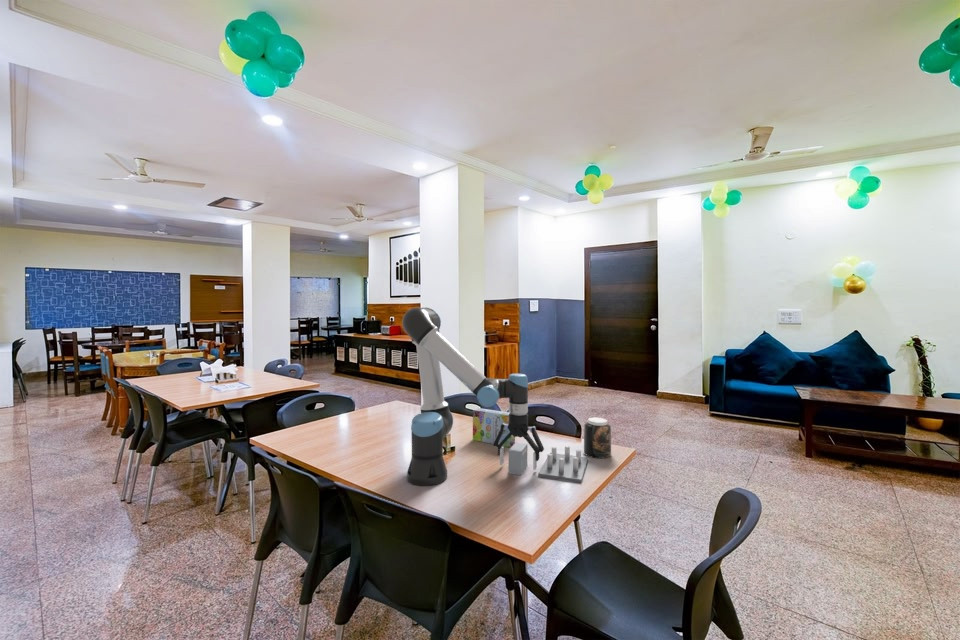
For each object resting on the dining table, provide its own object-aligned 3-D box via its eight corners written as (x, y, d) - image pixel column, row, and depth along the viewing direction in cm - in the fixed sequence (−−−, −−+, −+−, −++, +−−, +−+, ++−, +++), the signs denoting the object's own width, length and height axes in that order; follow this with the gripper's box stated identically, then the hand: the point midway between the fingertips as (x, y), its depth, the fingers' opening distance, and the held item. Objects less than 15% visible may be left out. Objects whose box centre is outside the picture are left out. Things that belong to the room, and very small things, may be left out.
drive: (508, 473, 155) (508, 450, 155) (515, 464, 165) (515, 442, 165) (521, 475, 154) (521, 451, 153) (527, 465, 163) (527, 444, 163)
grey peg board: (538, 476, 152) (538, 460, 152) (550, 455, 175) (550, 441, 175) (581, 482, 147) (581, 466, 146) (588, 460, 169) (588, 445, 169)
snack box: (515, 444, 189) (515, 412, 189) (510, 448, 184) (510, 415, 184) (478, 437, 200) (478, 407, 200) (471, 440, 196) (471, 409, 195)
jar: (578, 453, 177) (578, 420, 177) (591, 447, 185) (591, 415, 185) (603, 460, 169) (604, 425, 169) (615, 453, 177) (616, 419, 177)
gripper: (485, 412, 160) (485, 465, 160) (547, 418, 151) (547, 474, 151) (491, 408, 167) (491, 458, 167) (551, 413, 158) (551, 467, 158)
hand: (518, 466), depth 159 cm, fingers open, 13 cm apart
